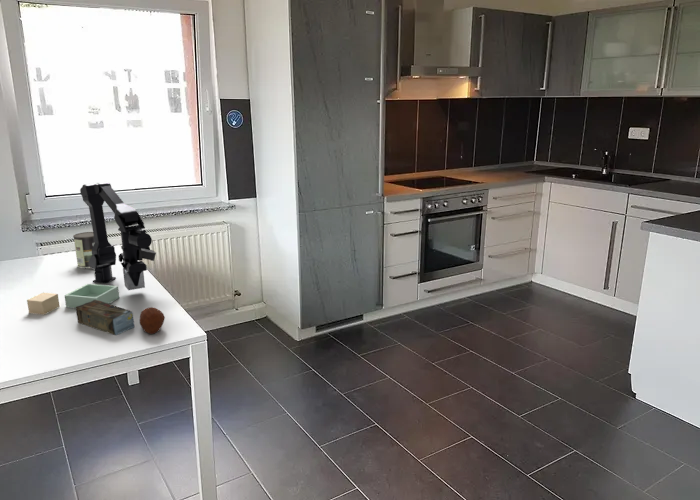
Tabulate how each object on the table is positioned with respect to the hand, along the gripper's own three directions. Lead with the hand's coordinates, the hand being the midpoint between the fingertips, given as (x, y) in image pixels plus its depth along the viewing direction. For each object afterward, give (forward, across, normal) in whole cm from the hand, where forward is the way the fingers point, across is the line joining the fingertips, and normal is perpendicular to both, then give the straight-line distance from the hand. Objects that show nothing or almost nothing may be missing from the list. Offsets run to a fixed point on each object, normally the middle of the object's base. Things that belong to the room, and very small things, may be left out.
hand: (134, 283), depth 202 cm
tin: (+1, 0, 0) cm, 1 cm away
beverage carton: (+5, -25, +15) cm, 29 cm away
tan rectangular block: (+4, +1, +30) cm, 31 cm away
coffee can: (+5, +48, +8) cm, 49 cm away
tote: (+4, -1, +15) cm, 15 cm away
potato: (+4, -37, +3) cm, 37 cm away
